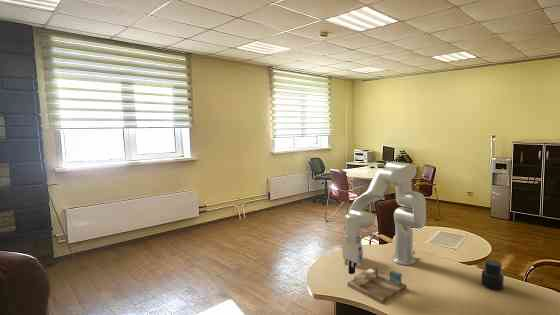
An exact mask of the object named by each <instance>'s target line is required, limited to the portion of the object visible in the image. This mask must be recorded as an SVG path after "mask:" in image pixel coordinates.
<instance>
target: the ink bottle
mask: <svg viewBox="0 0 560 315" xmlns="http://www.w3.org/2000/svg"><path fill="white" fill-rule="evenodd" d="M502 267H503V264H502V263H501V262H500V261H498V260H494V259H486V260H484V269H483V270H482V271H481V283H480V284H481V285H482V286H483V287H484V288H486V289H489V290H491V291H493V290H494V291H502V290H504V283H505V282H504V281H505V277H504V274H503V273H502V270H503V268H502Z"/></svg>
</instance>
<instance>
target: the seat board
mask: <svg viewBox="0 0 560 315" xmlns="http://www.w3.org/2000/svg"><path fill="white" fill-rule="evenodd" d="M347 287H349V288H350V289H353V290H354V291H356V292H358V293H360V294H362V295H364V296H366V297H368V298H370V299H372V300H374V301H376V302H378V303H379V304H381V305H382V304H383V305H384V303H386V302H388V301H389V300H391V299H392V298H394V297H396V296H398V295H399V294H400V293H402V292H404V291H405V290H407V284H406V283H403V282H402V273H401V272H399V271H396V270H394V269H392V270H389V276H387V275H384V274H382V273H380V272H378V277H376V278H374V279H372V280H370V281H368V282H367V283H365V284H363V285H361V286H358V285H356V284H354V279H351V280H349V281H347Z"/></svg>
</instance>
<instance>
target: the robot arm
mask: <svg viewBox="0 0 560 315" xmlns="http://www.w3.org/2000/svg"><path fill="white" fill-rule="evenodd" d="M416 174H417V167H416V166H415V165H414V164H413V163H407V162H401V161H388V162H386V163H385V166H384V167H381V168H378V169H376V171H375V173H374V175H373V177H372V179H371V181H370V183H369V186H368V188H367V190H366V191H365V192H363V193H362V194H360V195H359V196H358V197H357V198H356V199H355V200H354V201H353V203H352V205H351V206H350V208H349V210H348V213H347V214H345V216H344V239H343V242H342V252H341V253H342V259H343V260H344V261H345V260H346V261H347V264H346V265H347V266H348V274H349V275H353V274H355V273H356V267H357V266H358V267H359V266H362V261H363V260H364V251H363V244H362V239H361V229H368V228H371V227H373V226H374V225H375V223H376V218H375V216H374V215H373V214H372V213H370V212H366V211H363V208H364V206H366V205H368V204H369V203H372V202H373V203H374V202H377V201H379V200H382V199H383V198H384V195H385V193H386V191H387V188H388V187H389V185H390V186H393V187H394V188H395V189H394V190H395V201H396V203H397V205H398V206H401V207H397V208H396V209H395V210H394V212H393V220H394V225H395V226H394V227H395V228H394V230H395V233H394V234H395V235H394V237H395V239H394V255H392V257H391V260H392V261H393V263H395V264H398V265H403V266H412V265H415V263H416V258H414V257H413V256H414V255H416V251H415V250H413V248H414V245H413V244H414V242H413V241H414V240H413V238H414V232H413V228H414V229H423V228H424V227H425V225H426V222H427V221H426V220H427V204H426V203H427V202H426V197H425V196H424V194H423V193H421V192H418V191H415V190H412V182H411V180H413V179H414V178H415V177H416Z"/></svg>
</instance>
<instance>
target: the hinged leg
mask: <svg viewBox="0 0 560 315" xmlns="http://www.w3.org/2000/svg"><path fill="white" fill-rule="evenodd" d="M378 271H379V270H378V268H377V267H375V266H373V267H370V268H368V269H367V270H364V271H362V272H360V273H358V274H355V275H354V276H353V277H354V284H356V285H358V286H361V285H363V284H365V283H367V282H368V281H370V280H372V279H374V278H376V277H378V273H379V272H378Z"/></svg>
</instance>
